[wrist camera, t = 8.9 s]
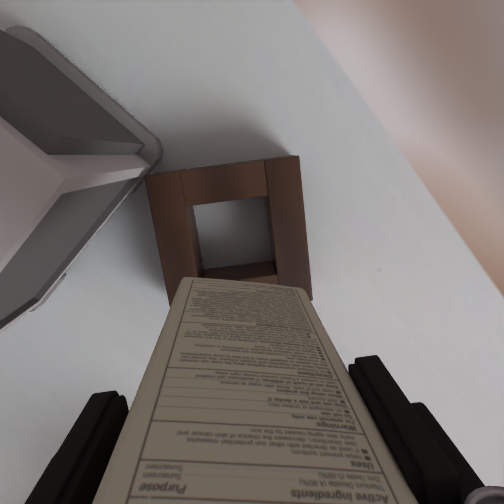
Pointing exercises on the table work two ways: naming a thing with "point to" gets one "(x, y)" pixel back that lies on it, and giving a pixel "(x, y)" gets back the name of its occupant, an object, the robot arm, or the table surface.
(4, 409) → the table surface
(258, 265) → the square wooden holder
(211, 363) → the box
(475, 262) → the table surface
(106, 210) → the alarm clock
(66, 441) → the robot arm
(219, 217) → the table surface
